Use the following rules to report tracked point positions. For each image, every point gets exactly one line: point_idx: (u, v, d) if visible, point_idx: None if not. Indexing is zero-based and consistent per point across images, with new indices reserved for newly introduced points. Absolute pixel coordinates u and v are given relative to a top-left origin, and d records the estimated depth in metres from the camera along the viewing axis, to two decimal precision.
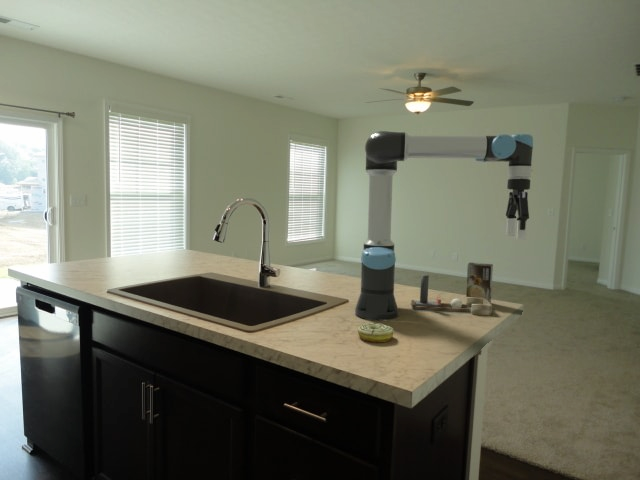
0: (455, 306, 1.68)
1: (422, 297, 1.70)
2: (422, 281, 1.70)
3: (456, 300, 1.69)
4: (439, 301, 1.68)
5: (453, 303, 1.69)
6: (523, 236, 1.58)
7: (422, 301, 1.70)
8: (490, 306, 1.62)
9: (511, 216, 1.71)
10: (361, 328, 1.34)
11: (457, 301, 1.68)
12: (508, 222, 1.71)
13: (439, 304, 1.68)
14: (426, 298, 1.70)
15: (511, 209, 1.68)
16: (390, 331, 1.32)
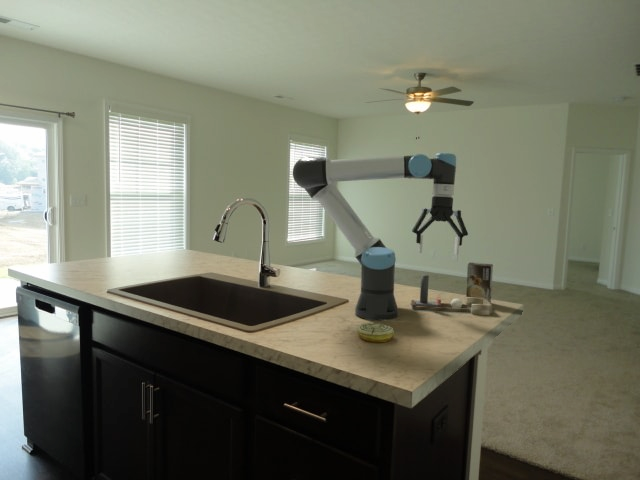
0: (455, 306, 1.68)
1: (422, 297, 1.70)
2: (422, 281, 1.70)
3: (456, 300, 1.69)
4: (439, 301, 1.68)
5: (453, 303, 1.69)
6: (419, 249, 1.68)
7: (422, 301, 1.70)
8: (490, 306, 1.62)
9: None
10: (361, 328, 1.34)
11: (457, 301, 1.68)
12: (455, 240, 1.70)
13: (439, 304, 1.68)
14: (426, 298, 1.70)
15: None
16: (390, 331, 1.32)
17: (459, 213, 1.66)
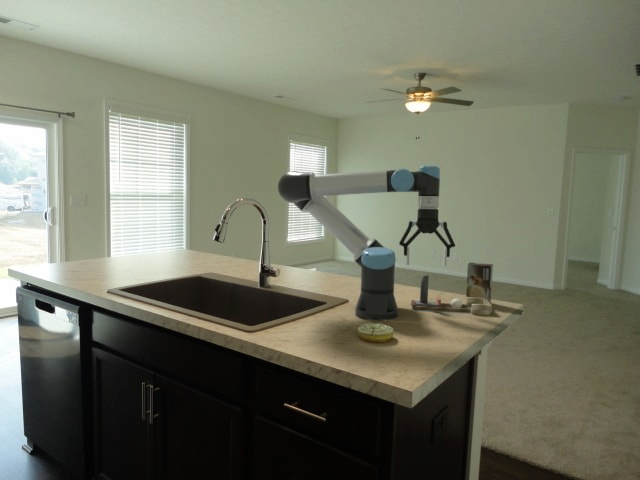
0: (455, 306, 1.68)
1: (422, 297, 1.70)
2: (422, 281, 1.70)
3: (456, 300, 1.69)
4: (439, 301, 1.68)
5: (453, 303, 1.69)
6: (406, 261, 1.70)
7: (422, 301, 1.70)
8: (490, 306, 1.62)
9: None
10: (361, 328, 1.34)
11: (457, 301, 1.68)
12: None
13: (439, 304, 1.68)
14: (426, 298, 1.70)
15: (439, 238, 1.69)
16: (390, 331, 1.32)
17: (446, 225, 1.66)
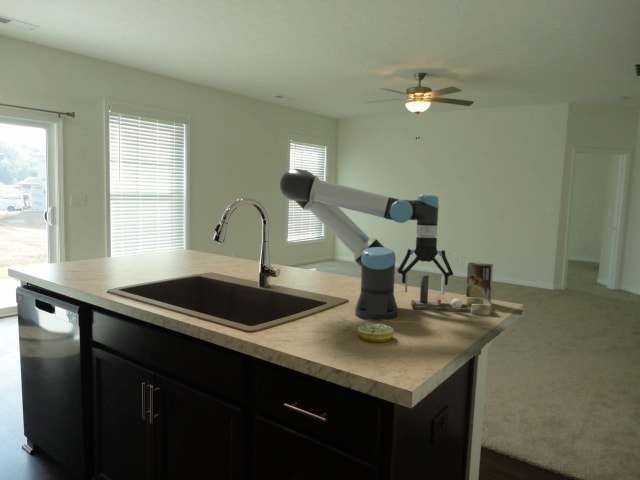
0: (455, 306, 1.68)
1: (422, 297, 1.70)
2: (422, 281, 1.70)
3: (456, 300, 1.69)
4: (439, 301, 1.68)
5: (453, 303, 1.69)
6: (405, 289, 1.71)
7: (422, 301, 1.70)
8: (490, 306, 1.62)
9: None
10: (361, 328, 1.34)
11: (457, 301, 1.68)
12: None
13: (439, 304, 1.68)
14: (426, 298, 1.70)
15: None
16: (390, 331, 1.32)
17: (444, 254, 1.67)
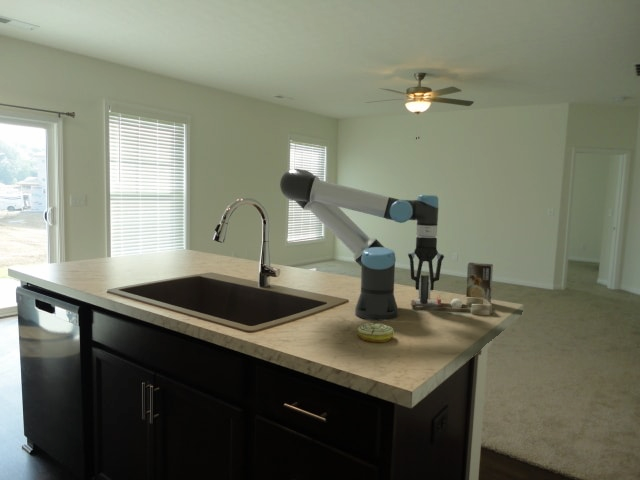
0: (455, 306, 1.68)
1: (422, 297, 1.70)
2: (422, 281, 1.70)
3: (456, 300, 1.69)
4: (439, 301, 1.68)
5: (453, 303, 1.69)
6: (418, 296, 1.71)
7: (422, 301, 1.70)
8: (490, 306, 1.62)
9: (431, 279, 1.70)
10: (361, 328, 1.34)
11: (457, 301, 1.68)
12: None
13: (439, 304, 1.68)
14: (426, 298, 1.70)
15: (429, 269, 1.71)
16: (390, 331, 1.32)
17: (441, 258, 1.68)
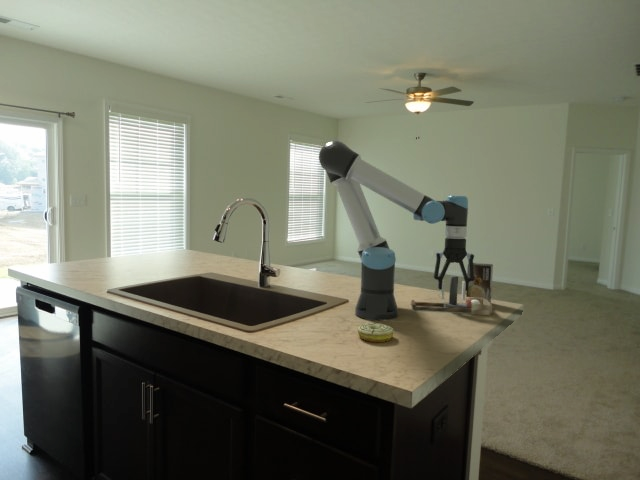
0: (475, 303, 1.67)
1: (451, 298, 1.69)
2: (451, 282, 1.68)
3: None
4: (469, 302, 1.67)
5: (478, 303, 1.67)
6: (441, 295, 1.70)
7: (451, 302, 1.69)
8: (490, 306, 1.62)
9: None
10: (361, 328, 1.34)
11: None
12: (462, 285, 1.70)
13: (469, 306, 1.67)
14: (455, 299, 1.69)
15: (461, 269, 1.69)
16: (390, 331, 1.32)
17: (472, 258, 1.66)
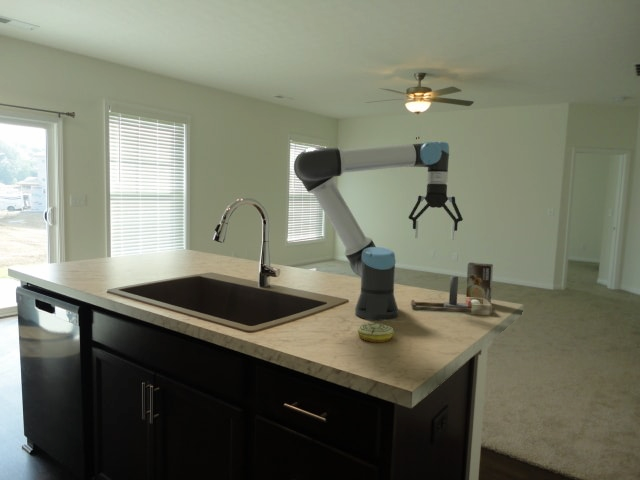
0: (475, 303, 1.67)
1: (451, 298, 1.69)
2: (451, 282, 1.68)
3: None
4: (469, 302, 1.67)
5: (478, 303, 1.67)
6: (415, 235, 1.76)
7: (451, 302, 1.69)
8: (490, 306, 1.62)
9: None
10: (361, 328, 1.34)
11: None
12: None
13: (469, 306, 1.67)
14: (455, 299, 1.69)
15: None
16: (390, 331, 1.32)
17: (454, 199, 1.72)
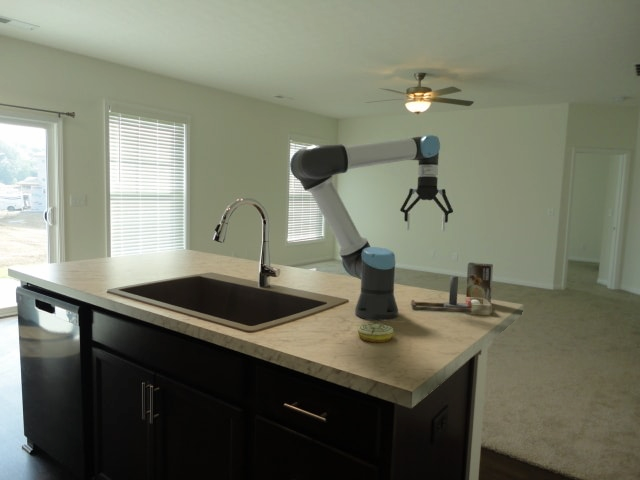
0: (475, 303, 1.67)
1: (451, 298, 1.69)
2: (451, 282, 1.68)
3: None
4: (469, 302, 1.67)
5: (478, 303, 1.67)
6: (407, 227, 1.80)
7: (451, 302, 1.69)
8: (490, 306, 1.62)
9: (445, 212, 1.78)
10: (361, 328, 1.34)
11: None
12: (442, 218, 1.79)
13: (469, 306, 1.67)
14: (455, 299, 1.69)
15: (438, 205, 1.79)
16: (390, 331, 1.32)
17: (444, 192, 1.76)
